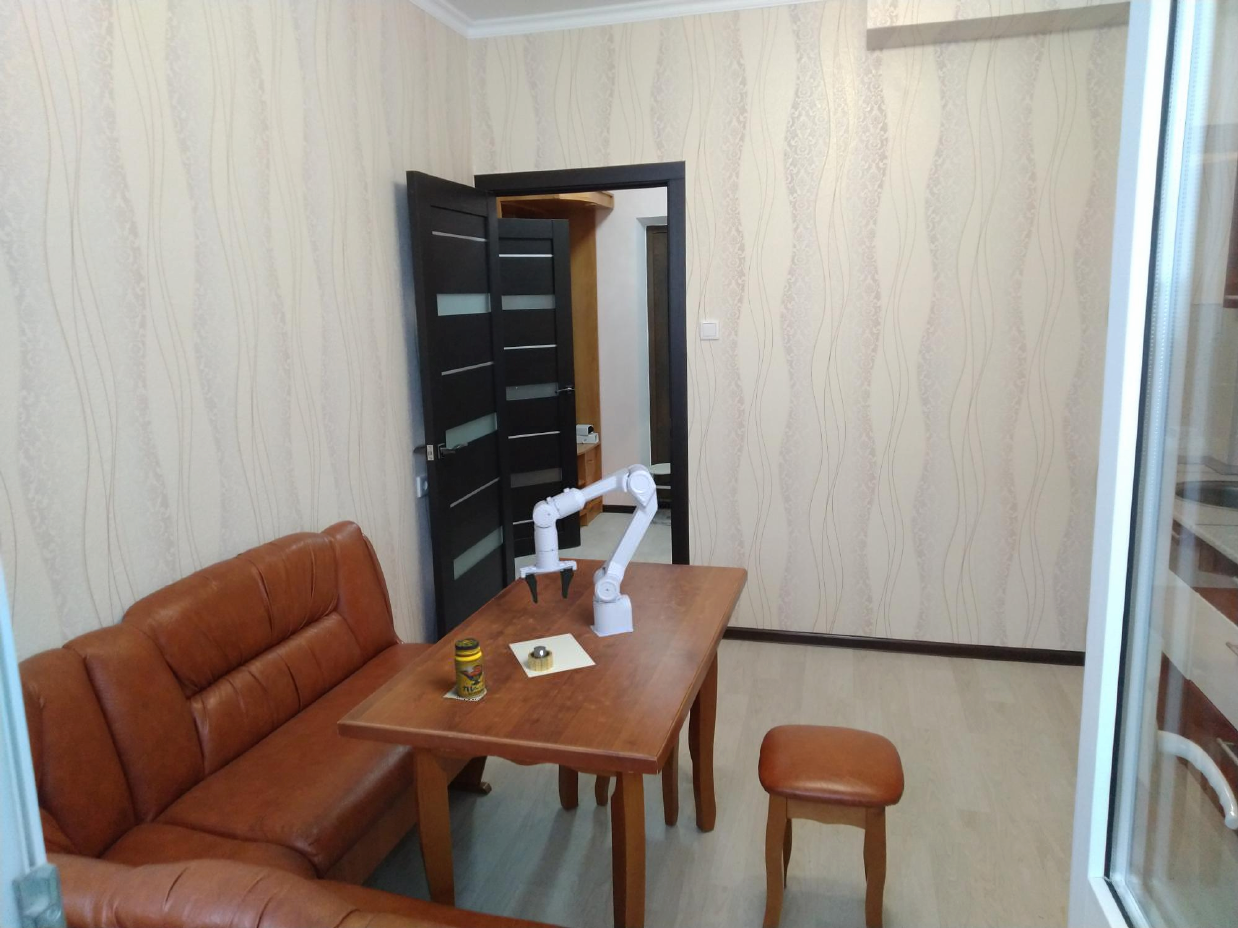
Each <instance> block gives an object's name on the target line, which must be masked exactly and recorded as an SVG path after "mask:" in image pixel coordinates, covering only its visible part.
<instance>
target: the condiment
mask: <svg viewBox="0 0 1238 928" xmlns="http://www.w3.org/2000/svg"><path fill="white" fill-rule="evenodd" d="M454 647H455V650H454V653H455V654H454V657H453V658H454V670H455V681H456V684H455V685H454V687H453V688H452V689H450V691H448V692H447V693H446V694H445V695H444V696H443V698H446V699H447V698H448V699H456V700H463V701H474V702H478V701H480V700H481V698H482V697H484V696H485V694H486V693H487V692H488V689H487V686H486V684H485V673H484V665H483V663H484V659H483V653H482V651H481V648H480V647H481V646H480V642H479V640H478V639H477V638H475V637H474V638H473V637H468V638H467V637H466V638H461V639H459V640H457V641H456V642H455V644H454ZM457 697H458V698H457ZM459 697H460V698H459ZM464 699H465V700H464ZM468 699H470V700H468ZM472 699H474V700H472ZM475 699H476V700H475Z"/></svg>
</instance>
